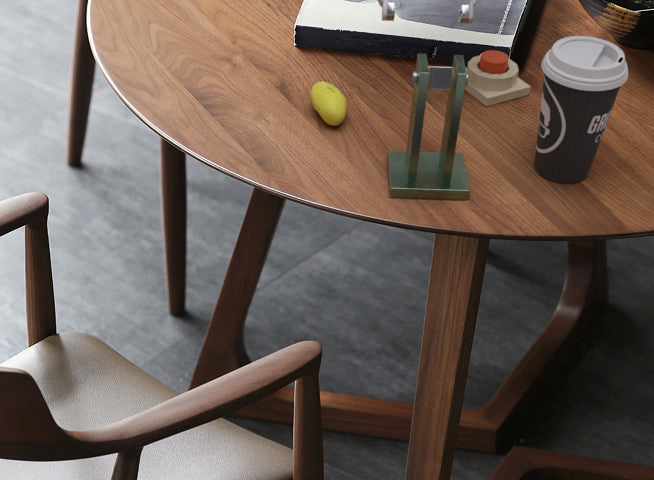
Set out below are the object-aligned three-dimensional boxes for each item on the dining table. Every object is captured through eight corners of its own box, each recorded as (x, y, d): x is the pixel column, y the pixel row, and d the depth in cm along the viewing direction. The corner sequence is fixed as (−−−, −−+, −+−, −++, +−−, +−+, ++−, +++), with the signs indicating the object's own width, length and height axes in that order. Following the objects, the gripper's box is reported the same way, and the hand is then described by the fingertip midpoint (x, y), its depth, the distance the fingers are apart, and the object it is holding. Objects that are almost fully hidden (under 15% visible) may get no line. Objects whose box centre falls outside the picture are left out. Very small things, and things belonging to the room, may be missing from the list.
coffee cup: (568, 200, 124) (597, 82, 114) (504, 165, 129) (526, 49, 119) (618, 171, 129) (650, 55, 118) (554, 138, 134) (580, 24, 124)
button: (512, 72, 141) (514, 59, 140) (489, 77, 140) (491, 65, 138) (495, 60, 143) (497, 48, 142) (473, 65, 142) (475, 53, 141)
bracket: (386, 159, 129) (398, 44, 119) (461, 162, 129) (479, 47, 119) (389, 197, 124) (402, 80, 114) (468, 200, 124) (487, 83, 114)
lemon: (319, 133, 134) (320, 104, 131) (305, 100, 139) (306, 73, 137) (352, 130, 134) (354, 102, 132) (337, 98, 140) (338, 70, 137)
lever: (411, 97, 129) (413, 66, 128) (442, 98, 129) (443, 67, 128) (423, 94, 117) (425, 60, 116) (457, 95, 117) (459, 61, 116)
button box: (529, 94, 142) (533, 73, 140) (486, 106, 139) (489, 85, 137) (493, 68, 147) (496, 47, 145) (450, 79, 144) (453, 58, 142)
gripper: (346, -108, 128) (342, 8, 127) (518, -102, 128) (515, 13, 127) (343, -84, 134) (339, 26, 133) (507, -78, 134) (504, 32, 134)
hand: (427, 20), depth 130 cm, fingers open, 8 cm apart
